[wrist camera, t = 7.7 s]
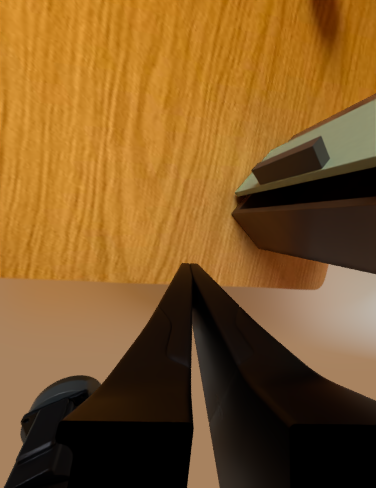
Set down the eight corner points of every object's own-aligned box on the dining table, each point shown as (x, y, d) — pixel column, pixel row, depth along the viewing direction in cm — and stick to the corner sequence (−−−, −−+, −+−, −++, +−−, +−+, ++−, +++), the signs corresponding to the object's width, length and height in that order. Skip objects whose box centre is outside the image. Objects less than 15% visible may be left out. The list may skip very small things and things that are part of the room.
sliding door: (237, 196, 22) (397, 162, 9) (225, 181, 21) (388, 116, 8) (273, 154, 23) (461, 69, 10) (264, 137, 22) (460, 19, 9)
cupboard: (258, 248, 25) (437, 287, 11) (221, 201, 21) (419, 161, 7) (310, 181, 27) (518, 137, 13) (285, 128, 24) (539, -22, 9)
